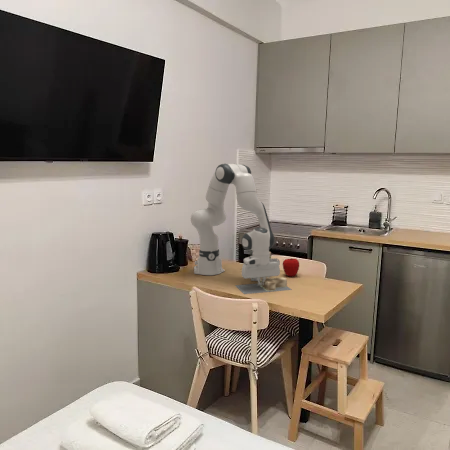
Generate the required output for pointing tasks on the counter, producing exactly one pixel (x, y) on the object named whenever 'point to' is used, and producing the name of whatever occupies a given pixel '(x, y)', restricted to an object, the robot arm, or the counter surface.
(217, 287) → the counter surface
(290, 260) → the apple
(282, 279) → the tee
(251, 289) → the mat
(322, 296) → the counter surface
